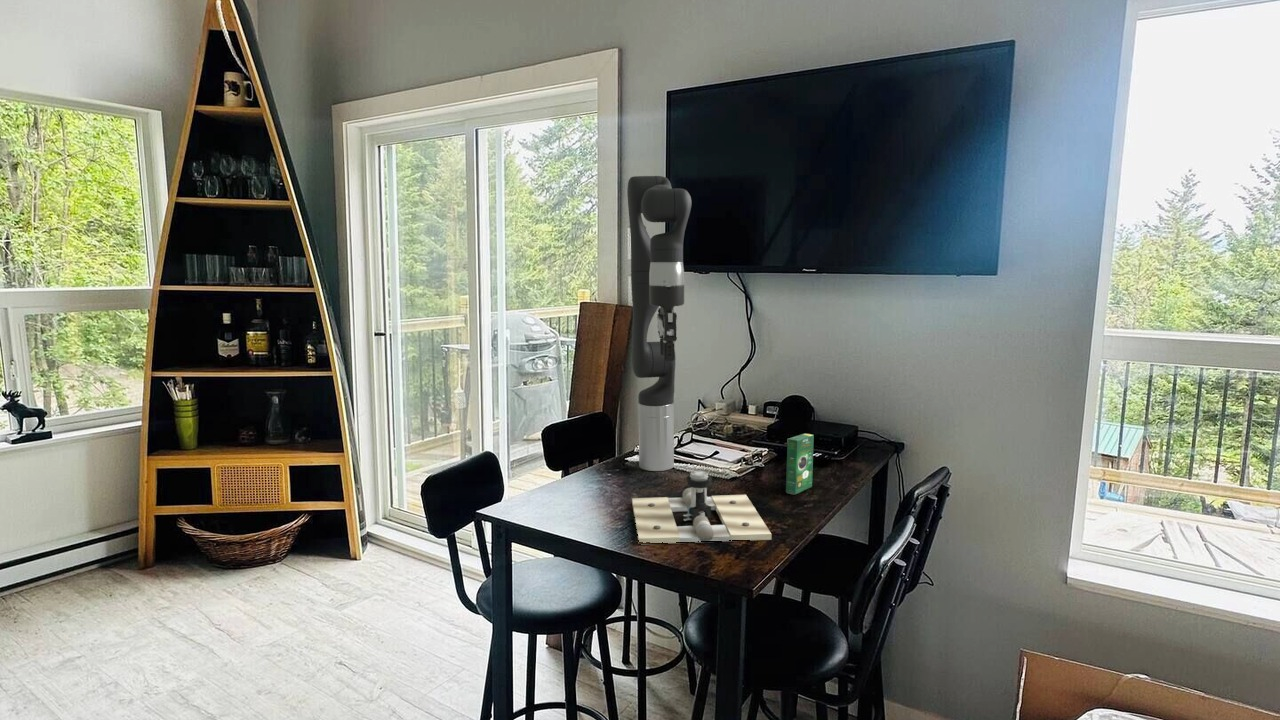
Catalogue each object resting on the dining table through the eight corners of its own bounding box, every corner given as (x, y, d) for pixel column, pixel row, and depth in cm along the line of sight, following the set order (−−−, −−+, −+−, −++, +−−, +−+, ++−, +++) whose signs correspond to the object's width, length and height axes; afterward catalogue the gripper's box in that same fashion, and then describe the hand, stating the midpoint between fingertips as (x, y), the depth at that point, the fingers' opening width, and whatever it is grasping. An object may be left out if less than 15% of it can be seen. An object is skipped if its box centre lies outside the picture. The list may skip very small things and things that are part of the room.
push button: (691, 526, 145) (691, 479, 144) (676, 518, 149) (676, 473, 148) (716, 519, 149) (716, 474, 147) (701, 512, 153) (701, 467, 152)
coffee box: (802, 484, 171) (804, 431, 169) (813, 487, 169) (814, 433, 167) (784, 492, 165) (786, 438, 163) (795, 495, 163) (797, 440, 161)
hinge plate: (632, 503, 159) (632, 489, 158) (746, 499, 161) (746, 486, 160) (638, 544, 136) (638, 528, 136) (771, 539, 138) (771, 524, 137)
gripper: (646, 282, 158) (647, 353, 161) (652, 284, 144) (652, 363, 147) (680, 282, 159) (680, 353, 161) (688, 284, 145) (688, 362, 147)
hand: (667, 357), depth 154 cm, fingers open, 8 cm apart
